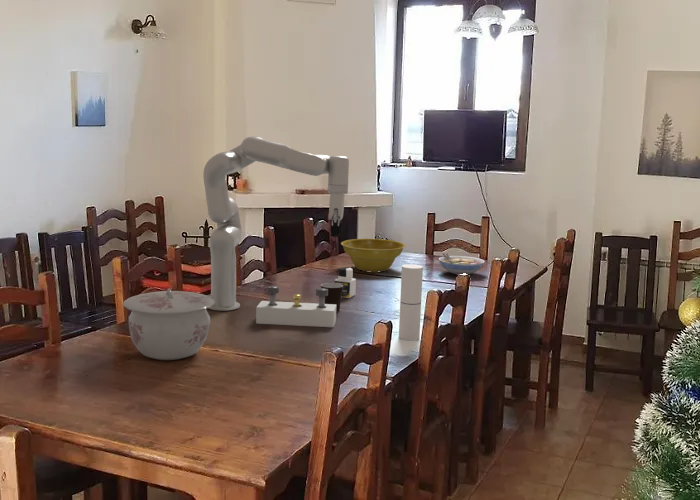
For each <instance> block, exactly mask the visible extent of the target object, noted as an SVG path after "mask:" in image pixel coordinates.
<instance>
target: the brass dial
mask: <svg viewBox="0 0 700 500" xmlns="http://www.w3.org/2000/svg"><path fill="white" fill-rule="evenodd" d="M292 298H293V299H294V301H293V302H294V307H300V303H301V299H302V294H299V293H294V294H293V295H292Z"/></svg>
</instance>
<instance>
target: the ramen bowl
mask: <svg viewBox="0 0 700 500" xmlns="http://www.w3.org/2000/svg"><path fill="white" fill-rule="evenodd" d="M442 255H443V256H440V257H439V258H438V262H439V263H440V265H441V267H442V268H443V269H445V271H447V272H449V273H452V274H453V273H454V274H463V273H466V274H469V275H471V274H474V273H476V272H478V271H479V270H480V269H482V268H483V266H484V264H485V262H486V261H485V260H484V259H482V258H478V257H474V256H464V255H449V254H448V253H446V254H445V253H442ZM454 274H453V275H454Z"/></svg>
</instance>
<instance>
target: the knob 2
mask: <svg viewBox="0 0 700 500" xmlns="http://www.w3.org/2000/svg"><path fill="white" fill-rule="evenodd" d="M315 296H316V297H318V304H319V308H325V296H328V289H325V288H321V287H319V288H316V289H315Z"/></svg>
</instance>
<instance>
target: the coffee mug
mask: <svg viewBox="0 0 700 500" xmlns="http://www.w3.org/2000/svg"><path fill="white" fill-rule="evenodd" d="M320 288H325V289H328V296H325V304H336V313H338V312H339V313H340V309H341V302H342V297H341V296H342V290H343V285H342V284H337V283H334V282H325V283H321V284H320Z"/></svg>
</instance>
